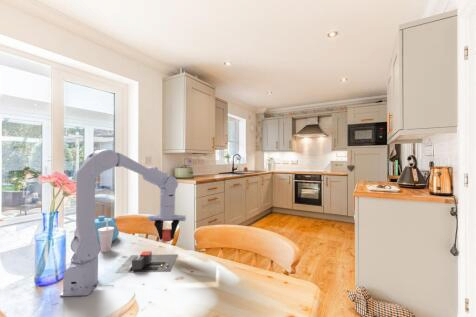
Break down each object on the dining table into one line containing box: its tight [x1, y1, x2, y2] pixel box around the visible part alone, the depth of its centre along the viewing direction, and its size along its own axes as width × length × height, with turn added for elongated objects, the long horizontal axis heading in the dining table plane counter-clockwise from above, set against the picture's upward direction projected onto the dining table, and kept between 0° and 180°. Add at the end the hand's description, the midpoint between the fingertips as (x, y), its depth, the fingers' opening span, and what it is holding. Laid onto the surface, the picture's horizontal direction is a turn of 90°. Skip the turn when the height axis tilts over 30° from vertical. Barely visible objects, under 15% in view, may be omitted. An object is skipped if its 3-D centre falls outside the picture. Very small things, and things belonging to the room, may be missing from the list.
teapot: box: [95, 215, 120, 244], centre depth 113 cm, size 20×20×13 cm
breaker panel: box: [114, 253, 179, 274], centre depth 87 cm, size 15×19×2 cm
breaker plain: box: [132, 257, 144, 270], centre depth 82 cm, size 3×3×3 cm
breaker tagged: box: [139, 250, 153, 264], centre depth 86 cm, size 3×3×4 cm
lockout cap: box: [161, 228, 172, 243], centre depth 93 cm, size 4×4×4 cm
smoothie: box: [98, 219, 114, 253], centre depth 102 cm, size 6×6×14 cm
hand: (167, 238), depth 93 cm, fingers closed on lockout cap, 4 cm apart
